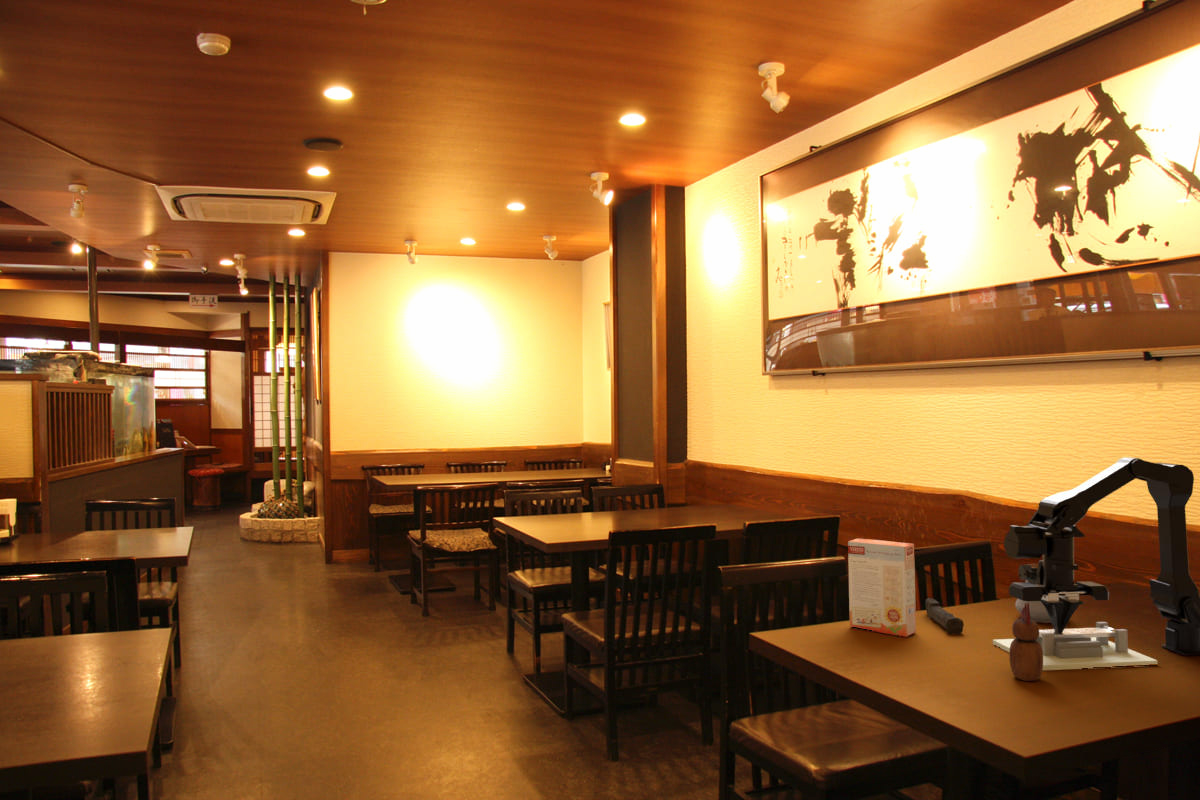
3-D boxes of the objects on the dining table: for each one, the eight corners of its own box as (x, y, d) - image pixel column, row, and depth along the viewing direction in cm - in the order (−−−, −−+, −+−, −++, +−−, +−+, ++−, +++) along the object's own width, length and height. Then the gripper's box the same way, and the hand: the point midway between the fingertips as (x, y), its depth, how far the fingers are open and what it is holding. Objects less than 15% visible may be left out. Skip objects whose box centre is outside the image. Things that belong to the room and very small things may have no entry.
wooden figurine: (1042, 686, 153) (1040, 606, 153) (1008, 681, 156) (1006, 602, 156) (1044, 675, 159) (1043, 598, 159) (1011, 671, 162) (1010, 595, 162)
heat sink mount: (1096, 640, 182) (1095, 614, 182) (1157, 665, 164) (1156, 637, 164) (992, 644, 180) (992, 618, 180) (1043, 670, 162) (1042, 642, 162)
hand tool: (964, 635, 188) (964, 615, 188) (946, 635, 188) (946, 615, 188) (939, 615, 207) (938, 596, 207) (922, 614, 207) (922, 596, 207)
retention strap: (1108, 632, 175) (1108, 625, 175) (1121, 638, 171) (1121, 630, 171) (1033, 635, 173) (1033, 628, 173) (1045, 641, 169) (1045, 633, 169)
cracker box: (917, 632, 190) (915, 542, 190) (906, 638, 185) (904, 546, 186) (860, 622, 199) (858, 536, 200) (848, 627, 195) (847, 540, 195)
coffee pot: (1020, 610, 208) (1019, 551, 208) (1072, 617, 201) (1070, 556, 201) (1001, 629, 192) (1000, 565, 192) (1057, 637, 184) (1056, 571, 185)
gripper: (1075, 550, 181) (1075, 621, 180) (994, 551, 179) (994, 622, 179) (1110, 560, 170) (1110, 635, 169) (1024, 561, 168) (1024, 637, 168)
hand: (1058, 632), depth 172 cm, fingers closed, pressing on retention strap
